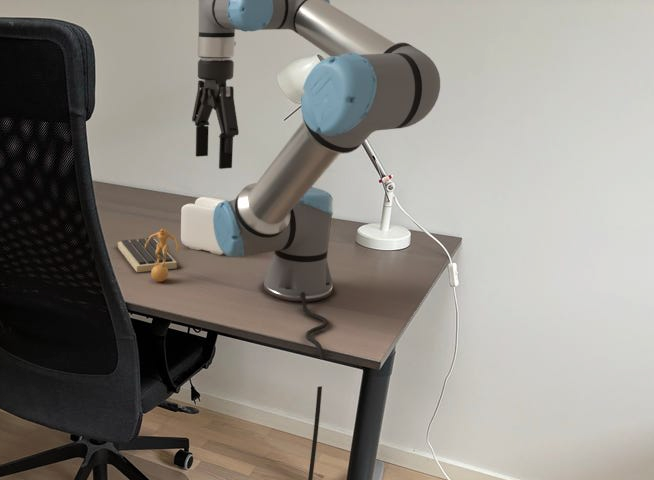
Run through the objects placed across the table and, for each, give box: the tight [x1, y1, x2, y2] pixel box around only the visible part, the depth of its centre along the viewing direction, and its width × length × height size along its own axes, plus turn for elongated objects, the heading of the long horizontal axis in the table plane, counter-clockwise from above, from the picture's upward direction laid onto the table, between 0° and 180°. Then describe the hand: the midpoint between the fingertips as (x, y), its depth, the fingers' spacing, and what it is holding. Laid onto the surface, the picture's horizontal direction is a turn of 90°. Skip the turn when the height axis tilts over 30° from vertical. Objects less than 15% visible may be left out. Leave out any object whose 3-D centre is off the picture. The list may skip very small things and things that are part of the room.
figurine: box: [144, 228, 180, 283], centre depth 170 cm, size 8×6×12 cm
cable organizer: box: [180, 196, 226, 256], centre depth 192 cm, size 15×11×12 cm
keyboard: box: [117, 237, 178, 273], centre depth 186 cm, size 19×10×2 cm, turn 18°
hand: (213, 162), depth 164 cm, fingers open, 13 cm apart
